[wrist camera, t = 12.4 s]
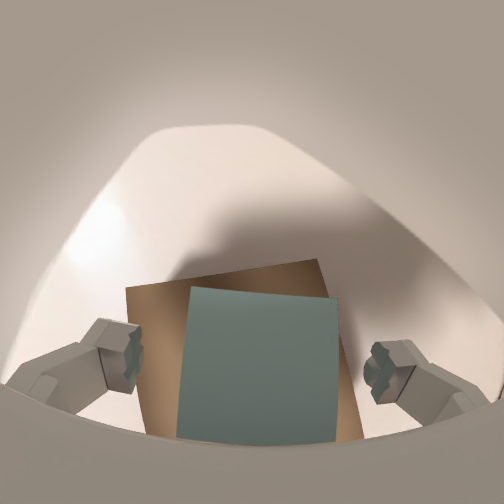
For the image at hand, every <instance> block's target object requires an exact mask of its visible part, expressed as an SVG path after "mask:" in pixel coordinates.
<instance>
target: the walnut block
mask: <svg viewBox="0 0 504 504" xmlns="http://www.w3.org/2000/svg"><path fill="white" fill-rule="evenodd" d="M191 286H194V287H203V288H213V289H222V290H233V291H243V292H254V293H266V294H278V295H291V296H304V297H319V298H329V296H328V293H327V290H326V286H325V283H324V280H323V277H322V273H321V270H320V267H319V264H318V261H317V259H312V260H306V261H299V262H293V263H287V264H281V265H275V266H268V267H262V268H256V269H249V270H243V271H237V272H230V273H224V274H217V275H210V276H204V277H197V278H190V279H183V280H176V281H169V282H162V283H155V284H148V285H141V286H134V287H126V302H127V315H128V323H131V324H136V325H140V326H141V329H142V338H141V340H140V343H141V344H142V345H143V347H144V361H143V367H142V369H141V372H140V373H138V374H136V379H137V382H136V386H137V392H138V397H139V402H140V408H141V413H142V417H143V422H144V426H145V431H146V434H149V435H154V436H160V437H165V438H171V439H178V440H185V441H192V442H201V443H210V444H222V445H238V446H301V445H241V444H225V443H213V442H203V441H194V440H187V439H180V438H176V429H177V414H178V401H179V389H180V378H181V368H182V358H183V348H184V339H185V331H186V322H187V314H188V307H189V299H190V292H191ZM361 439H364V434H363V429H362V424H361V420H360V415H359V410H358V406H357V402H356V397H355V393H354V389H353V385H352V381H351V377H350V373H349V369H348V365H347V361H346V357H345V353H344V349H343V346H342V342H341V338H340V335H339V386H338V413H337V431H336V442H329V443H338V442H346V441H354V440H361ZM318 444H328V443H318ZM302 445H317V444H302Z"/></svg>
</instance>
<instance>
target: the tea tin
mask: <svg viewBox="0 0 504 504" xmlns="http://www.w3.org/2000/svg"><path fill="white" fill-rule="evenodd" d="M338 386H339V323H338V299H335V298H319V297H304V296H291V295H278V294H266V293H254V292H243V291H233V290H222V289H213V288H203V287H194V286H191V292H190V299H189V307H188V314H187V322H186V331H185V339H184V348H183V358H182V368H181V378H180V389H179V401H178V414H177V429H176V438H180V439H187V440H194V441H203V442H213V443H225V444H241V445H302V444H318V443H329V442H336V431H337V413H338Z"/></svg>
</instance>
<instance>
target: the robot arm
mask: <svg viewBox="0 0 504 504" xmlns="http://www.w3.org/2000/svg"><path fill="white" fill-rule="evenodd" d="M141 338H142V329H141V326H140V325H136V324H131V323H126V322H121V321H116V320H111V319H105V318H98V319H97V320H96V321H95V323H94V324H93V325H92V327H91V328H90V329H89V331H88V332H87V333H86V335H85V336H84V337H83V339H82V340H81V341H80V343H77V342H75V343H72V344H70V345H67V346H65V347H62V348H60V349H58V350H55V351H53V352H50V353H48V354H45V355H43V356H40V357H38V358H35V359H33V360H30V361H28V362H25V363H23V364H21V365H20V367H19V368H18V369H17V370H16V372H15V373H14V374H13V375H12V377H11V378H10V379H9V380H8V382H7V383H6V384H5V385H4V384H2V383H0V504H504V389H503V392H502V395H501V398H500V399H499V400H497V401H495V402H493V403H490V402H489V401H488V399H487V398H486V397H485V395H484V394H483V393H482V392H481V390H480V389H479V388H478V387H477V386H476V385H474V384H472V383H470V382H468V381H466V380H464V379H462V378H460V377H458V376H456V375H454V374H452V373H450V372H449V371H447V370H445V369H443V368H441V367H439V366H437V365H435V364H433V363H429V362H428V361H427V359H426V358H425V357H424V356H423V354H422V353H421V352H420V351H419V349H418V348H417V347H416V346H415V344H414V343H413V342H412V341H411V340H398V341H385V342H375V343H374V345H373V346H372V349H371V354H372V356H371V357H370V358H369V359H368V360H367V361H366V363H365V366H364V373H363V375H364V380H365V382H366V384H367V385H369V386H370V387H372V390H371V394H372V396H373V398H374V400H375V402H376V404H377V405H378V404H387V403H395V402H396V404H397V405H398V406H399V407H400V408H402V409H403V410H404V411H405V412H407V413H408V414H409V415H410V416H411V417H413V418H414V419H415V420H416V421H418V422H419V423H420V424H421V425H423V427H419V428H416V429H411V430H407V431H403V432H399V433H394V434H389V435H384V436H379V437H373V438H367V439H361V440H354V441H346V442H338V443H328V444H317V445H301V446H238V445H222V444H210V443H201V442H192V441H185V440H178V439H171V438H165V437H160V436H154V435H149V434H144V433H139V432H135V431H130V430H126V429H122V428H118V427H114V426H110V425H107V424H103V423H100V422H96V421H93V420H90V419H87V418H83V417H80V416H77V415H75V414H77V413H78V412H80V411H81V410H82V409H84V408H85V407H87V406H88V405H89V404H91V403H92V402H94V401H95V400H96V399H98V398H99V397H100V396H102V395H103V394H105V393H106V392H107V391H108V390H112V391H116V392H121V393H126V394H132V392H133V390H134V387H135V385H136V382H137V379H136V374H138V373H140V372H141V369H142V367H143V361H144V347H143V345H142V344H141V343H140V340H141Z"/></svg>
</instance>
